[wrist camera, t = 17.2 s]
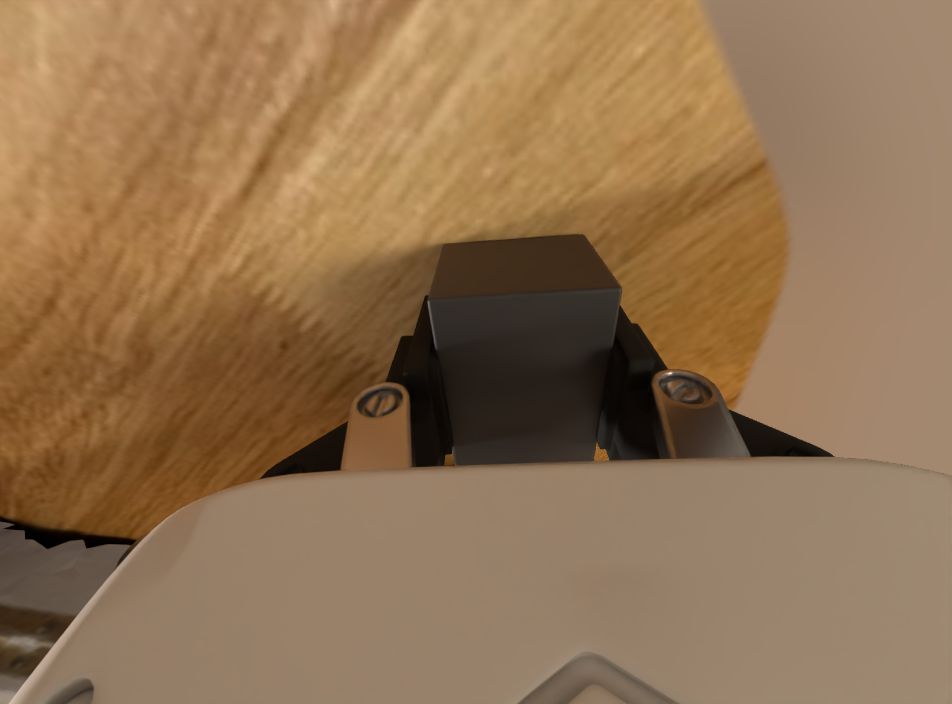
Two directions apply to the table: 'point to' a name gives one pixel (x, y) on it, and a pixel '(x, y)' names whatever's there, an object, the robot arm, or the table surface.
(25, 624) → the bible
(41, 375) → the table surface
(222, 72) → the table surface
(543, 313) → the gray block
